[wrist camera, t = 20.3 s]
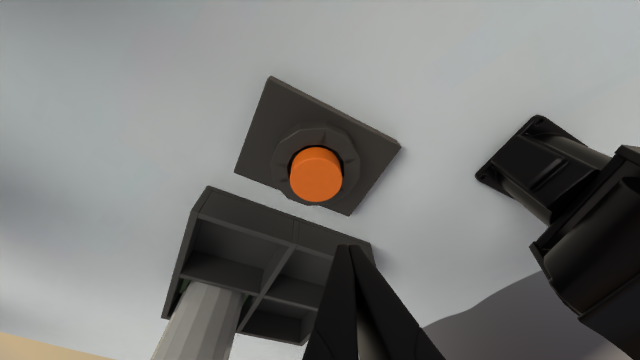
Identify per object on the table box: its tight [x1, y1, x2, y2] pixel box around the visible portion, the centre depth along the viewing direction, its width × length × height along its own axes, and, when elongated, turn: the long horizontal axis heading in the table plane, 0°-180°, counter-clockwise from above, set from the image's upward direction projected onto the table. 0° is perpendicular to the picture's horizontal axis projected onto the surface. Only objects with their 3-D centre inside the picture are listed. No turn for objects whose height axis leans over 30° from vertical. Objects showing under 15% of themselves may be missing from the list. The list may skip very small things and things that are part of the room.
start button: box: [290, 147, 342, 202], centre depth 17 cm, size 4×4×2 cm
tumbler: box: [151, 280, 245, 360], centre depth 23 cm, size 6×6×13 cm
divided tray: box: [161, 186, 376, 346], centre depth 26 cm, size 18×18×4 cm
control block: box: [234, 76, 401, 216], centre depth 19 cm, size 11×8×3 cm
